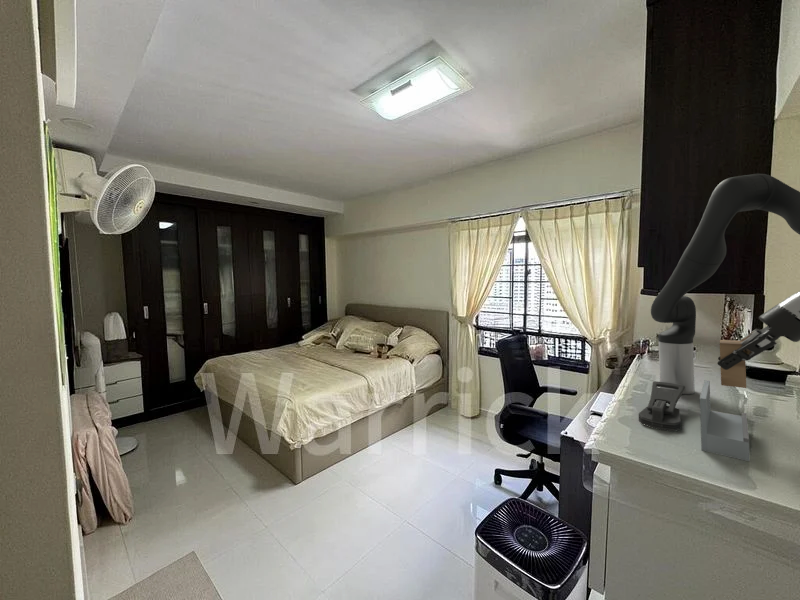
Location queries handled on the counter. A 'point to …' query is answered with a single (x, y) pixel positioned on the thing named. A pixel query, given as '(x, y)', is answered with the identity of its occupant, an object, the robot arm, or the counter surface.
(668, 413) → the zipper pull
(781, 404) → the counter surface
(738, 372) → the cabinet
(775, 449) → the counter surface
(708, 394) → the board
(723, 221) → the robot arm
